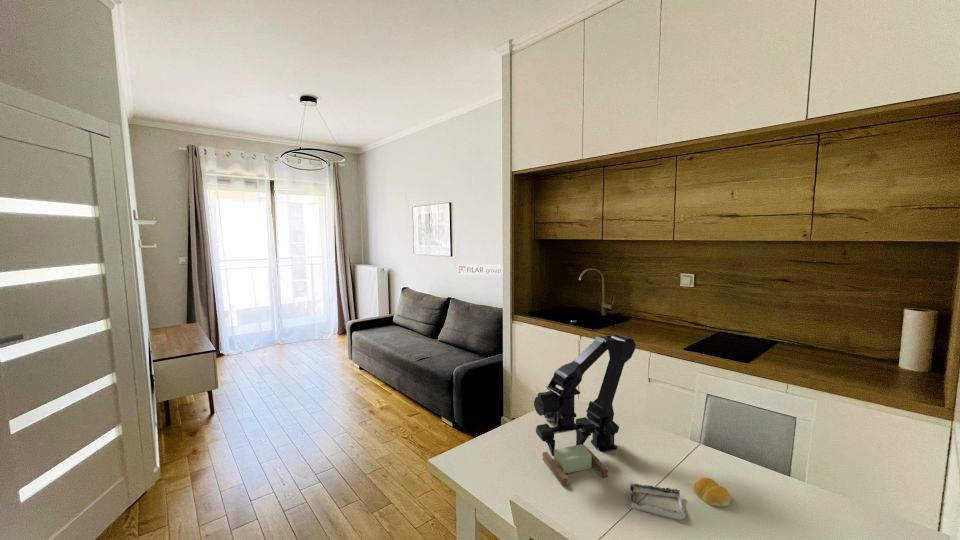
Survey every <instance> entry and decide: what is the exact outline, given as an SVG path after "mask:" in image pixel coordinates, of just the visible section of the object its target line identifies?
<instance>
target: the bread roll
mask: <svg viewBox="0 0 960 540" xmlns="http://www.w3.org/2000/svg"><path fill="white" fill-rule="evenodd" d="M692 488H693V492H694V493H695V495H697V497H698V498H699V499H701V500H702V501H704V502H705V503H706V504H707V505H710V506H713V507H723V508H725V507H727V506H729V505H730V503H731V500H732V499H731V498H732V497H731V493H730V492H729V491H728V489H727V488H726V487H724V486H722V485H719V483H718V482H717V481H715V480H714V479H712V478H708V477H700V478H699V479H698V480H697V479H696V480H695V481H694V482H693V483H692Z"/></svg>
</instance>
